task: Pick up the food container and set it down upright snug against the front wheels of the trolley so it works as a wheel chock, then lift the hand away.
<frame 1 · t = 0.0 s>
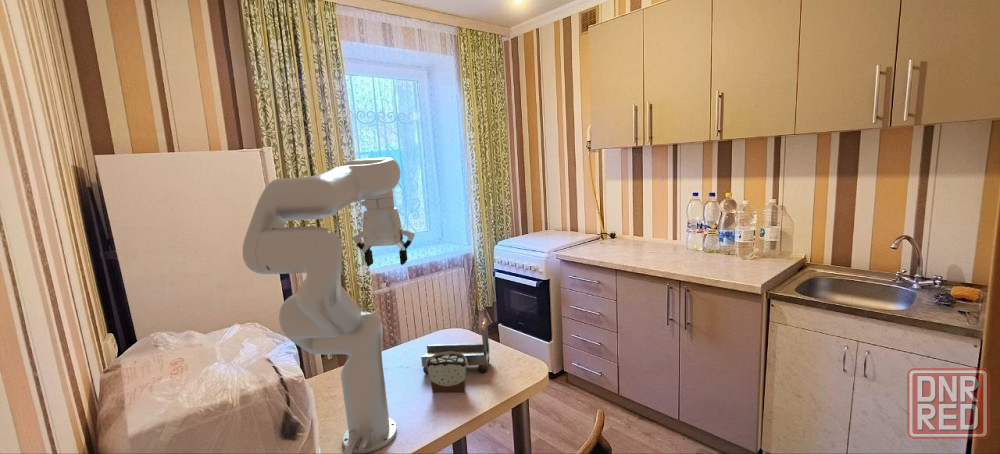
hand: (386, 264, 120), 37 cm above the table, tool pointing down, fingers open, 9 cm apart
food container: (451, 388, 122), on the table
trolley: (455, 345, 132), point 8 cm above the table, slide at 0.0 cm
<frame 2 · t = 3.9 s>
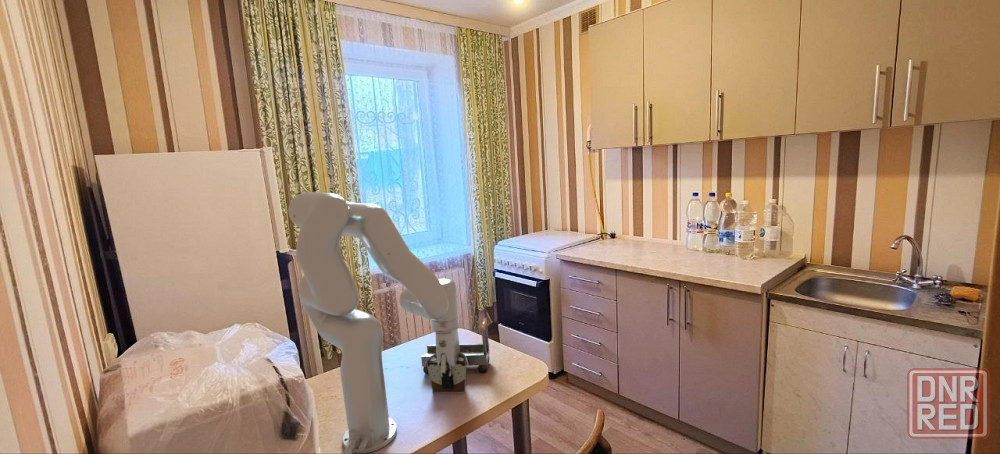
hand: (450, 382, 122), 2 cm above the table, tool pointing down, fingers closed on food container, 5 cm apart
food container: (451, 387, 123), on the table, touching gripper
everything else where it was.
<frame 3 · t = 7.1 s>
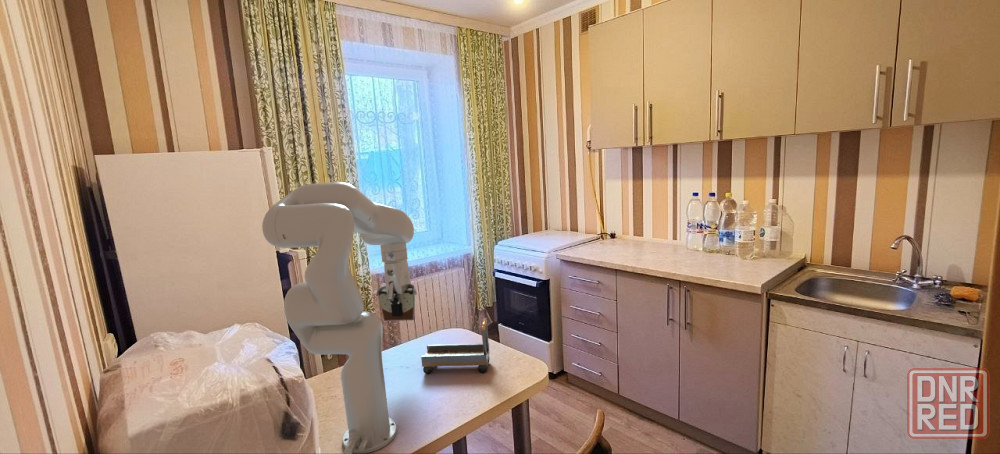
hand: (400, 311, 131), 19 cm above the table, tool pointing down, fingers closed on food container, 5 cm apart
food container: (402, 317, 132), point 17 cm above the table, touching gripper
everything else where it was.
when the fingers open (3 cm above the table, at t = 10.6 s): food container drops 1 cm, on the table.
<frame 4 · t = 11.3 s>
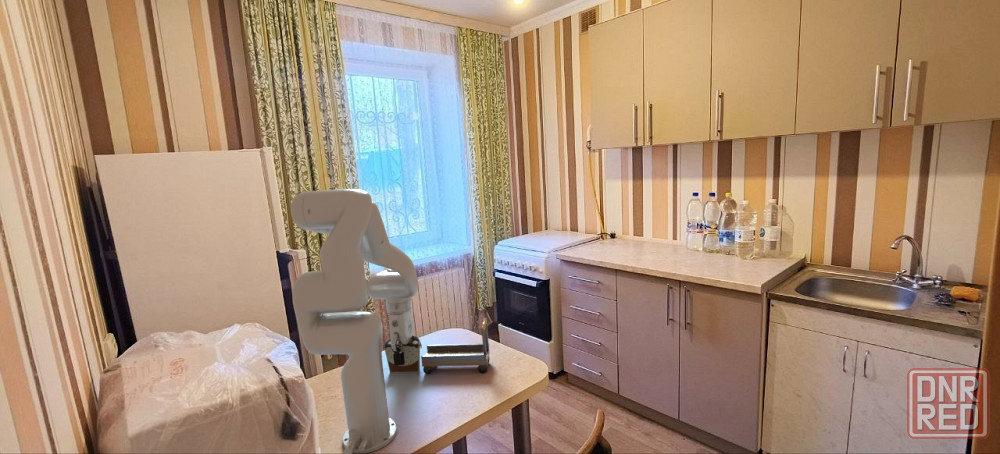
hand: (404, 356, 134), 4 cm above the table, tool pointing down, fingers open, 9 cm apart
food container: (407, 368, 136), on the table
everything else where it was.
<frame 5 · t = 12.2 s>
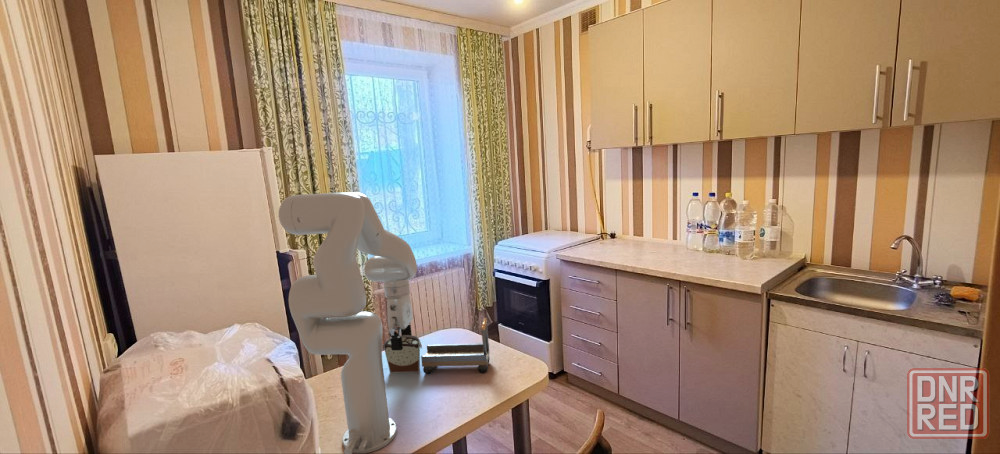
hand: (402, 343, 132), 9 cm above the table, tool pointing down, fingers open, 9 cm apart
food container: (407, 368, 136), on the table, touching gripper
everything else where it was.
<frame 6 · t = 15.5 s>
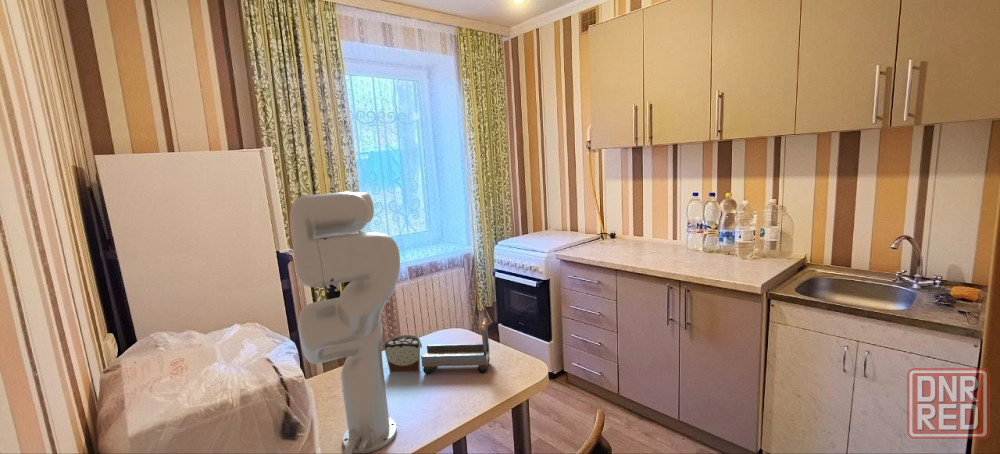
hand: (343, 298, 119), 28 cm above the table, tool pointing down, fingers open, 9 cm apart
food container: (407, 368, 136), on the table
everything else where it was.
at the end: food container 1.5 cm from the target spot on the table beside the trolley, on the table; food container tilted 0°; trolley slide at 0.0 cm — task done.
